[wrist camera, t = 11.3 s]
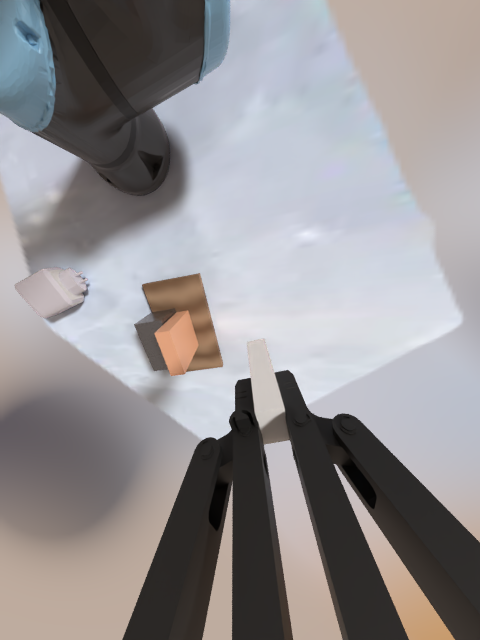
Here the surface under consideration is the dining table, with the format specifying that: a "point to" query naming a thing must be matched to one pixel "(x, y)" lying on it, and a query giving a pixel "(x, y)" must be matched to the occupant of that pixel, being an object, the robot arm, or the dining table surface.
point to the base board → (192, 298)
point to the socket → (153, 336)
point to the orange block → (177, 342)
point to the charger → (52, 290)
